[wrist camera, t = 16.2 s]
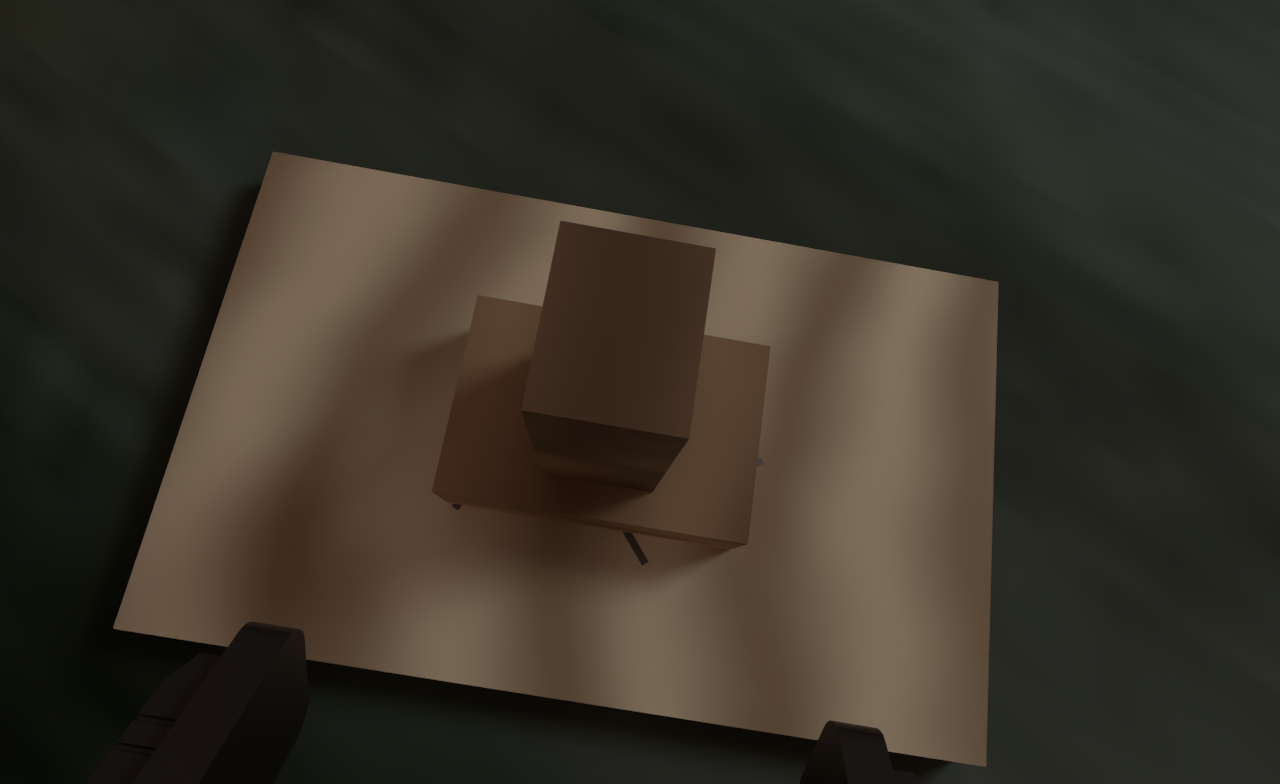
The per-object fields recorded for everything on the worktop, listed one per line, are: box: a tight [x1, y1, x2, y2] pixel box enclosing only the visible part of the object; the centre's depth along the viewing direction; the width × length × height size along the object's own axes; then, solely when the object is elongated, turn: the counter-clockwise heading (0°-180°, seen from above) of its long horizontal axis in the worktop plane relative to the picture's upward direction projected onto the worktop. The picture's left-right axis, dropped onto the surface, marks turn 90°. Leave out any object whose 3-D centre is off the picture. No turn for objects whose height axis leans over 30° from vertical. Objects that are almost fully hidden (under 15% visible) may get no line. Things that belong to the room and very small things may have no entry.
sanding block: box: [432, 221, 771, 549], centre depth 19 cm, size 9×6×10 cm, turn 81°
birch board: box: [113, 152, 998, 767], centre depth 25 cm, size 26×16×2 cm, turn 81°
